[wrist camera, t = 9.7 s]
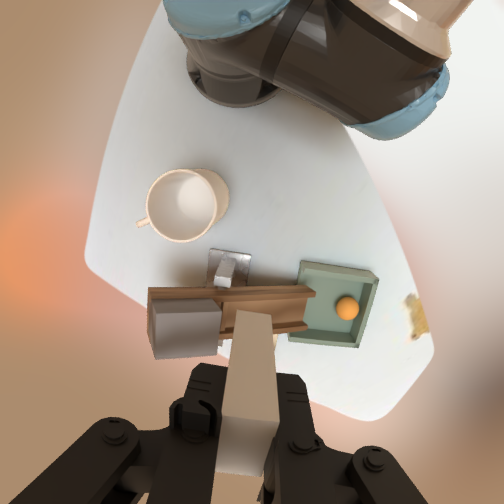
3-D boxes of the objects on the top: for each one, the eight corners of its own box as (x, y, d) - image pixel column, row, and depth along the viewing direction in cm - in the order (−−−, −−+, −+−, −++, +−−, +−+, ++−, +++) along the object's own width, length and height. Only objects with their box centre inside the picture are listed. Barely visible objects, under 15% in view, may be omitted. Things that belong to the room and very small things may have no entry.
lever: (148, 285, 34) (156, 309, 29) (305, 283, 44) (332, 300, 39) (147, 374, 37) (156, 405, 32) (287, 358, 47) (309, 380, 42)
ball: (365, 299, 45) (346, 291, 47) (355, 304, 43) (334, 295, 45) (359, 320, 46) (340, 312, 48) (348, 326, 43) (329, 317, 46)
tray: (301, 260, 46) (304, 268, 42) (370, 271, 46) (379, 279, 42) (286, 328, 49) (288, 341, 45) (351, 335, 49) (358, 347, 45)
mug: (162, 239, 46) (132, 260, 34) (145, 185, 44) (110, 190, 32) (236, 218, 45) (228, 233, 33) (220, 161, 43) (206, 156, 31)
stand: (210, 248, 46) (198, 267, 36) (250, 254, 46) (249, 275, 37) (203, 314, 49) (191, 346, 39) (240, 320, 49) (236, 353, 39)
